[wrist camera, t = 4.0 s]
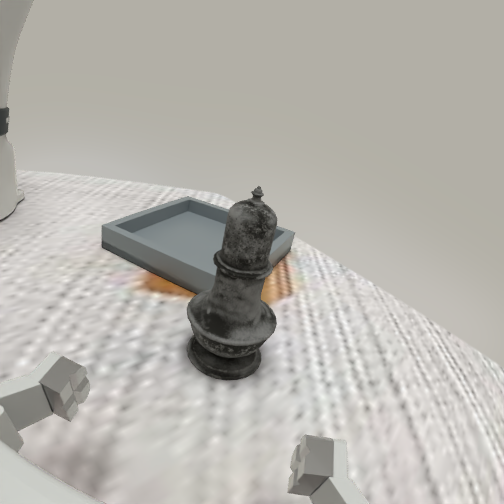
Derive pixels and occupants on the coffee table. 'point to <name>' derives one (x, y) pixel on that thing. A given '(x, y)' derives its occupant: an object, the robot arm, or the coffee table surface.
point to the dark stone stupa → (236, 296)
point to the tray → (179, 241)
